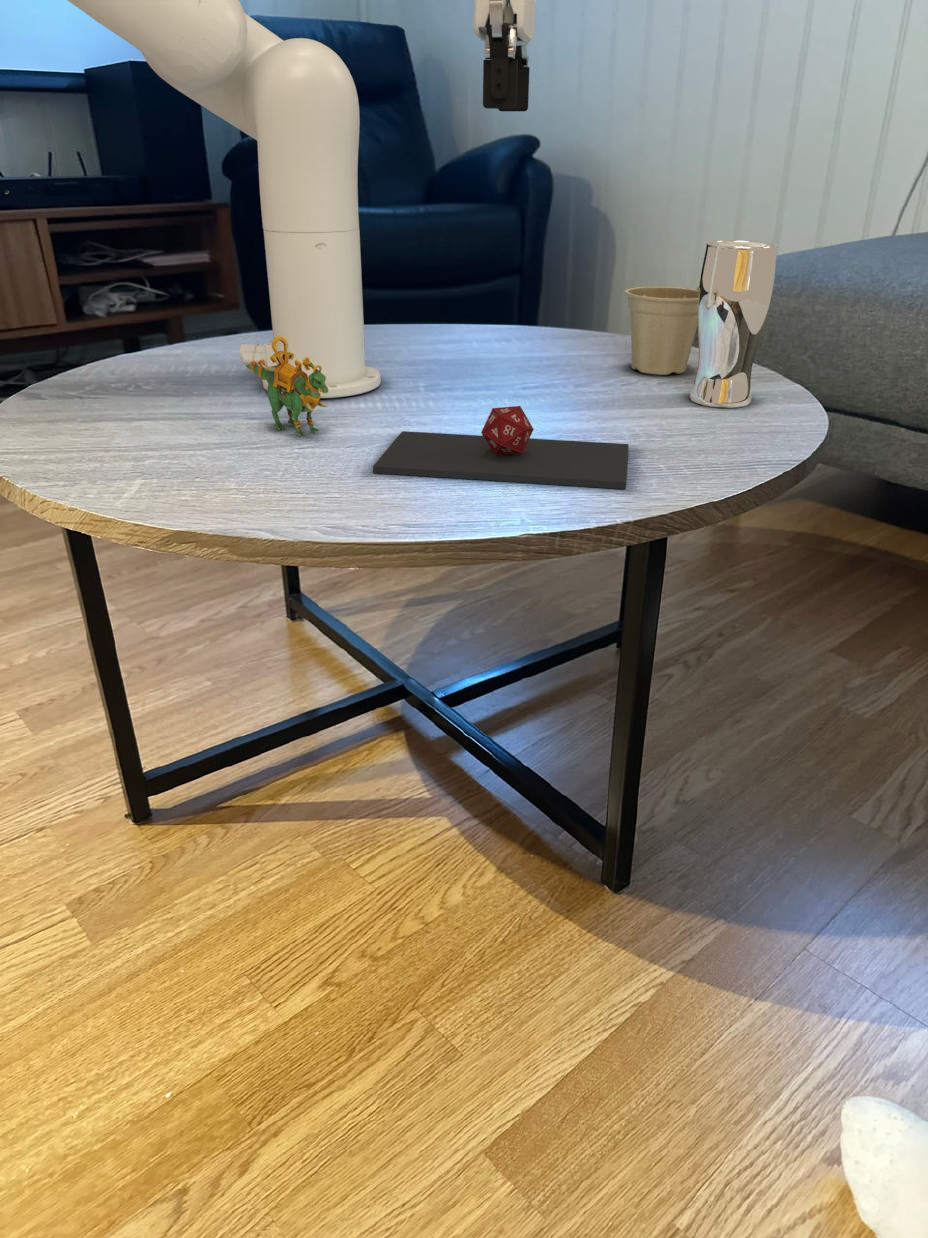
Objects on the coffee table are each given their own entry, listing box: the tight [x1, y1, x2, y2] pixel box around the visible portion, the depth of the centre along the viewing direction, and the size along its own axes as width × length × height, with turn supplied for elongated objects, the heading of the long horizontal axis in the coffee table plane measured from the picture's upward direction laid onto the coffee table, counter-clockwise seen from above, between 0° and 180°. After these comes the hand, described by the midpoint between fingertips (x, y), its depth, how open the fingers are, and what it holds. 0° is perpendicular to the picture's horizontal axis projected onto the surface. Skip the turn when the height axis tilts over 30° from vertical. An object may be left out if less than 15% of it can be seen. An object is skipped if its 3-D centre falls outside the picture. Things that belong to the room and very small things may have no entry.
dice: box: [480, 405, 534, 455], centre depth 74 cm, size 4×4×4 cm
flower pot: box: [624, 286, 699, 376], centre depth 103 cm, size 9×9×9 cm
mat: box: [372, 430, 630, 490], centre depth 75 cm, size 20×10×1 cm, turn 80°
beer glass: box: [689, 239, 778, 409], centre depth 90 cm, size 7×7×15 cm
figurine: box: [244, 336, 329, 437], centre depth 82 cm, size 3×12×8 cm, turn 46°
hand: (506, 109), depth 91 cm, fingers open, 9 cm apart
